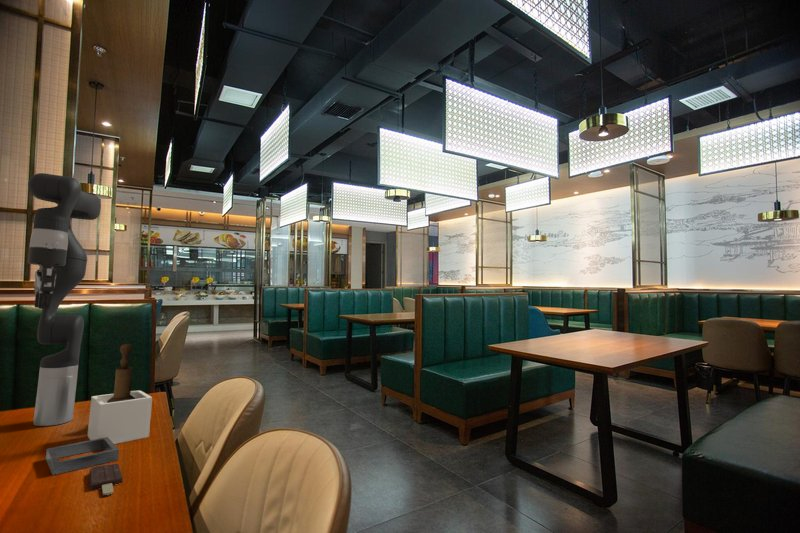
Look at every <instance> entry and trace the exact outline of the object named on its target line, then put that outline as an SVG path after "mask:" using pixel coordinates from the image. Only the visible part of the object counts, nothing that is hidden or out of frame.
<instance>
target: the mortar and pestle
mask: <svg viewBox="0 0 800 533" xmlns="http://www.w3.org/2000/svg"><path fill="white" fill-rule="evenodd" d="M133 349H134V347H133V345H132V344H130V343H125V344H122V345H121V346H120V347H119V352H120V354H121V355H122V358H121V359H119V363H120V366H121V367H117V368H115V376H114V378H115V379H114V390H113V394H114V396H113V397H112V398H110V399H109V400H108V401H107V403H111V402H118V401H125V400H132V399H135V398H134V397H133V396H132V395H130V392H131V391H132V390H131V388H132V376H133V367H131V366H129V364H130V361H131V359H129V356H130V354H131V353H132V352H133Z"/></svg>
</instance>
